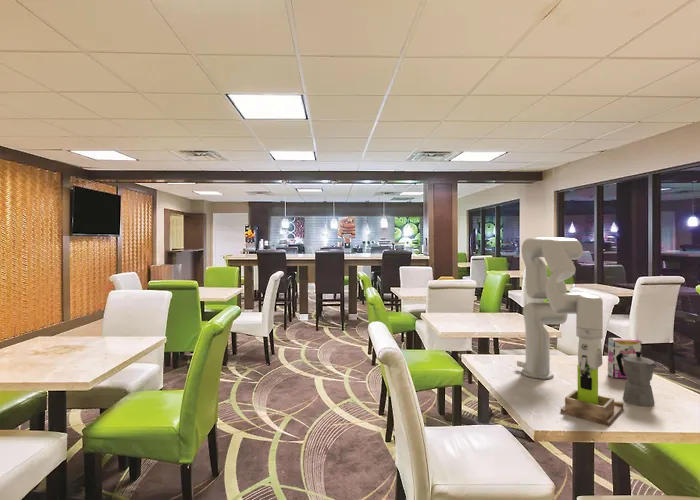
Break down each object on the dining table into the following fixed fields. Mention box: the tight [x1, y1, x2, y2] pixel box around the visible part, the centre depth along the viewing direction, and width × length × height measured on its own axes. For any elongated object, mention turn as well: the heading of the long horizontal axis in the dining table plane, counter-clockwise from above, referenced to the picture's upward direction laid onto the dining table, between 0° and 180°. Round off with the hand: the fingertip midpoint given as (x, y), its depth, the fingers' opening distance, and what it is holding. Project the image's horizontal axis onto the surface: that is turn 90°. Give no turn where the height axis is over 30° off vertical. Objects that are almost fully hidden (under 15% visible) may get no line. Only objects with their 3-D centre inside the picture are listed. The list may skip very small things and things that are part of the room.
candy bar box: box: [607, 337, 643, 380], centre depth 167 cm, size 11×5×16 cm, turn 84°
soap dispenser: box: [576, 346, 601, 405], centre depth 131 cm, size 6×7×20 cm
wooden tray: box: [560, 389, 624, 427], centre depth 133 cm, size 14×18×5 cm
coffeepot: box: [616, 351, 658, 407], centre depth 142 cm, size 15×9×18 cm, turn 13°
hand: (589, 386), depth 131 cm, fingers closed on soap dispenser, 5 cm apart
